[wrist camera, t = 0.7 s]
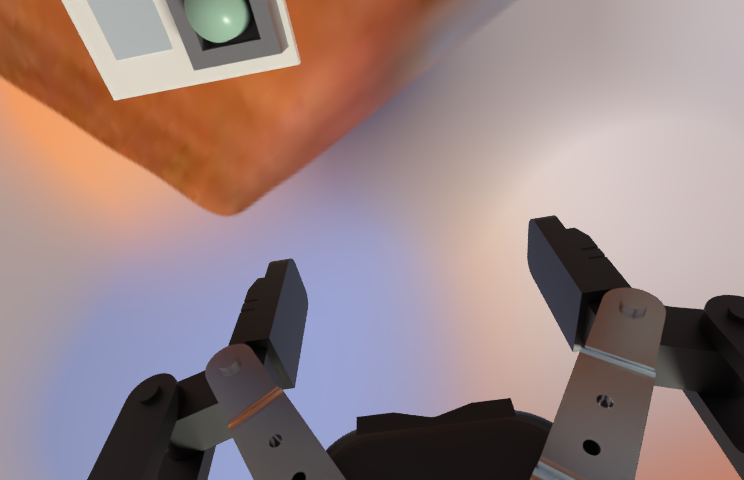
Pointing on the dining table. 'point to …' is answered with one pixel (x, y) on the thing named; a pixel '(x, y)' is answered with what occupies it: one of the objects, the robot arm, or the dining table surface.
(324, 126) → the dining table surface
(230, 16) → the button
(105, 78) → the picture board
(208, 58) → the button housing
